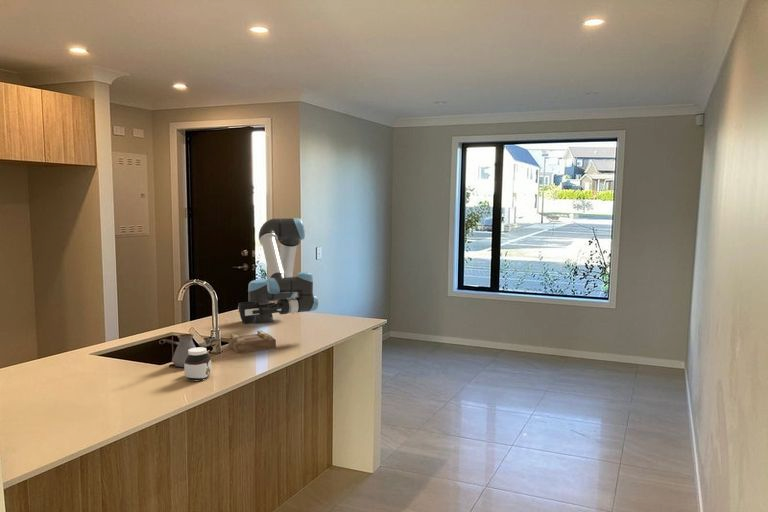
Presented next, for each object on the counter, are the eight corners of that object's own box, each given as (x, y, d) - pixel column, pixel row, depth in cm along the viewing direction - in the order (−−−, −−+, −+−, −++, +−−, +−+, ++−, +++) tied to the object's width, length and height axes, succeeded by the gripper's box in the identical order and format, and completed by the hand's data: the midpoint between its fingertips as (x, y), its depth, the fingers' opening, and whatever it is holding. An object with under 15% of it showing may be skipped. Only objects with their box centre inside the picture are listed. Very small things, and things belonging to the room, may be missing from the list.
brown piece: (228, 346, 275) (228, 334, 274) (264, 340, 285) (264, 329, 284) (238, 353, 262) (238, 341, 262) (275, 347, 272) (275, 336, 271)
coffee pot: (183, 360, 251) (182, 326, 250) (206, 362, 248) (205, 328, 247) (150, 375, 231) (148, 338, 229) (175, 377, 228) (173, 340, 226)
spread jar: (198, 383, 221) (197, 353, 220) (174, 380, 225) (172, 351, 224) (217, 374, 232) (216, 346, 231) (194, 371, 236) (193, 343, 235)
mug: (266, 320, 276) (264, 300, 275) (250, 324, 265) (248, 304, 265) (252, 319, 280) (251, 300, 279) (236, 324, 269) (234, 304, 268)
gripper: (296, 317, 272) (249, 323, 260) (278, 309, 291) (234, 314, 279) (296, 301, 272) (249, 306, 260) (278, 295, 290) (234, 299, 278)
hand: (241, 310), depth 269 cm, fingers closed on mug, 9 cm apart
